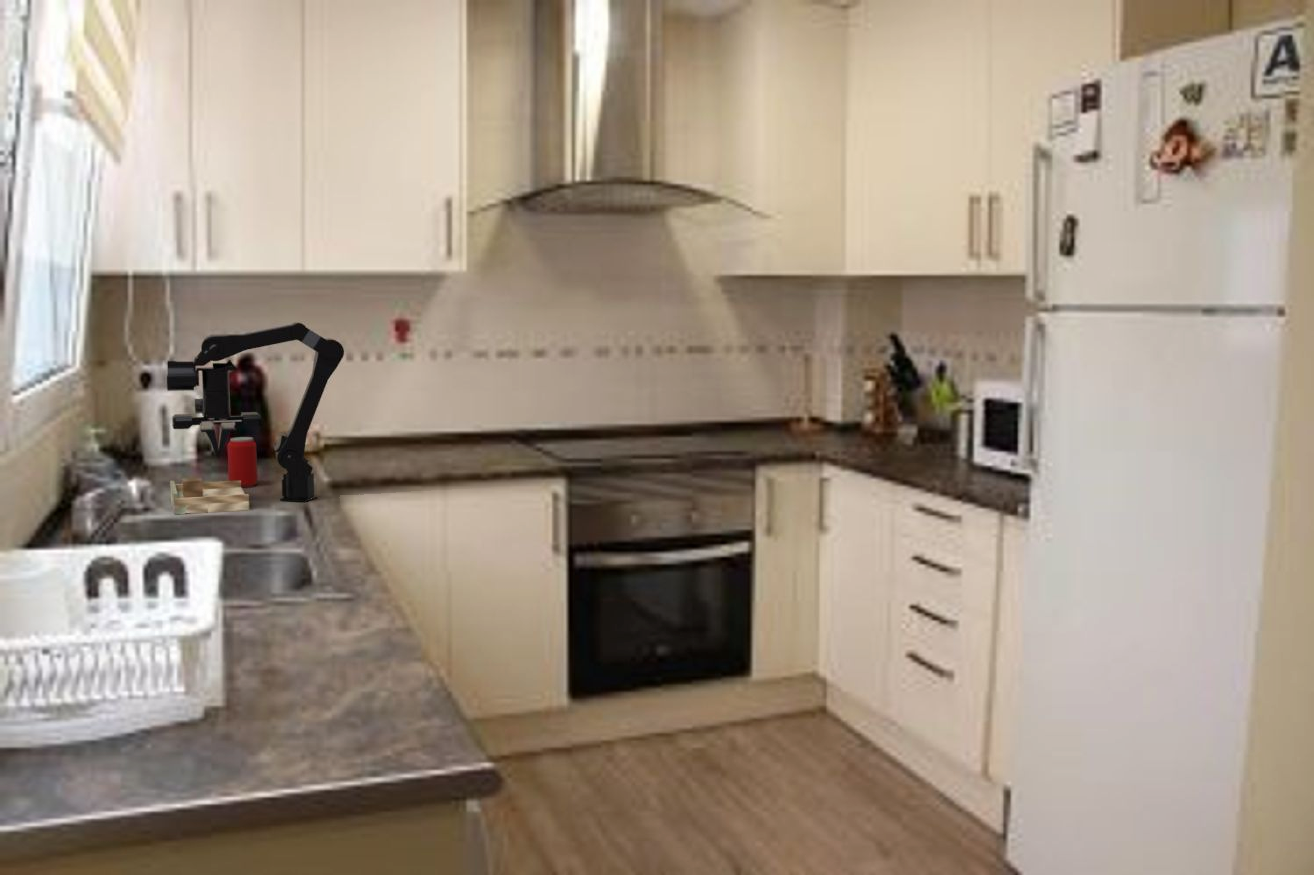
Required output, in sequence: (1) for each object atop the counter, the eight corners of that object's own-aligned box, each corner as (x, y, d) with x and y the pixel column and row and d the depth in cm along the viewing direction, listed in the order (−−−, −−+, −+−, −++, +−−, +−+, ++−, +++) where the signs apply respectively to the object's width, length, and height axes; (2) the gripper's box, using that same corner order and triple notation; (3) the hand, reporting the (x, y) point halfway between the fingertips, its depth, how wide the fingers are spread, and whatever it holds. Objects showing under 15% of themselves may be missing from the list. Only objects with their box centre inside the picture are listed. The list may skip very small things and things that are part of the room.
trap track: (241, 494, 270) (240, 476, 269) (249, 509, 253) (248, 490, 252) (170, 499, 263) (170, 480, 263) (174, 514, 246) (173, 494, 246)
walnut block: (201, 494, 259) (201, 477, 259) (202, 497, 256) (202, 480, 255) (183, 495, 257) (182, 478, 257) (183, 498, 254) (183, 481, 253)
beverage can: (262, 483, 285) (260, 437, 283) (250, 488, 278) (248, 440, 276) (236, 482, 285) (235, 436, 284) (224, 487, 279) (222, 439, 277)
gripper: (255, 386, 267) (257, 451, 269) (170, 387, 259) (172, 454, 261) (260, 390, 257) (262, 458, 259) (172, 392, 249) (174, 461, 251)
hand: (218, 457), depth 258 cm, fingers closed
